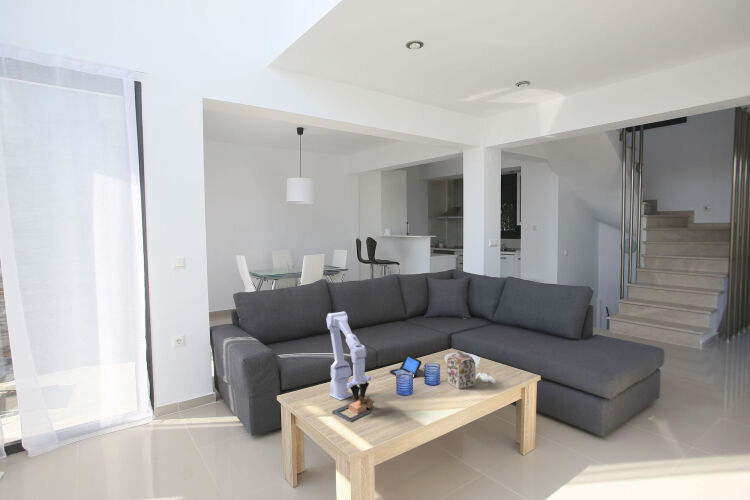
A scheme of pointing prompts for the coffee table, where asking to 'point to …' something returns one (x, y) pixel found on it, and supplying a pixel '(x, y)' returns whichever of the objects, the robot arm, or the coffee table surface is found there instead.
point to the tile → (357, 407)
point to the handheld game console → (408, 366)
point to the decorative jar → (461, 370)
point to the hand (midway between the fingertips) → (359, 398)
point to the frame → (337, 412)
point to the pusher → (366, 401)
